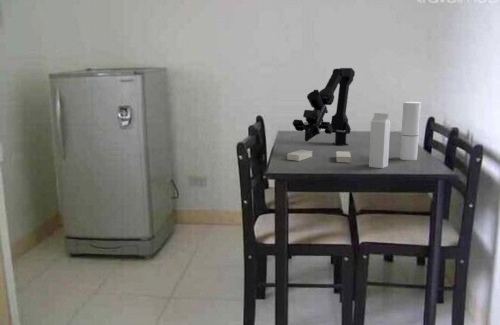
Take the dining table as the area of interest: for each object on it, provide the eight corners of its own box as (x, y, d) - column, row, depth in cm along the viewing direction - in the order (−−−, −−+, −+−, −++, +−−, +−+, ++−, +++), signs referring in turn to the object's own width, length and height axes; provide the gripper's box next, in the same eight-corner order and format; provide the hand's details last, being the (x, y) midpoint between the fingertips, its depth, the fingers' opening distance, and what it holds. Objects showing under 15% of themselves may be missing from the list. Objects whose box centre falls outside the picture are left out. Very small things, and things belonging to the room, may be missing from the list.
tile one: (336, 151, 213) (336, 156, 201) (349, 151, 212) (351, 156, 201) (336, 156, 214) (336, 162, 202) (349, 157, 213) (350, 162, 201)
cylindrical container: (417, 157, 210) (421, 101, 205) (416, 161, 204) (420, 103, 198) (401, 156, 213) (404, 101, 208) (399, 159, 207) (402, 102, 201)
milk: (374, 164, 198) (376, 112, 194) (388, 166, 195) (391, 113, 190) (368, 166, 194) (371, 113, 189) (382, 168, 190) (385, 114, 185)
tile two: (300, 149, 217) (287, 153, 208) (312, 151, 214) (299, 155, 204) (300, 155, 218) (287, 159, 209) (312, 156, 215) (298, 161, 205)
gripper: (294, 102, 220) (281, 128, 214) (330, 104, 209) (318, 131, 203) (302, 117, 228) (290, 142, 222) (337, 119, 217) (326, 146, 211)
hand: (305, 140), depth 214 cm, fingers closed
